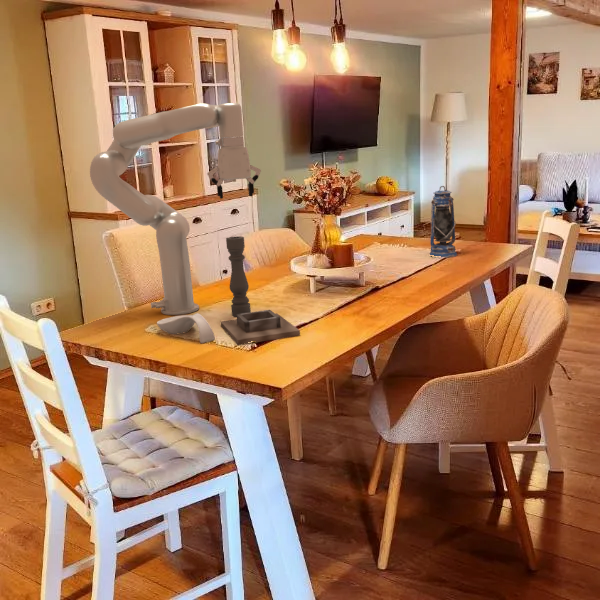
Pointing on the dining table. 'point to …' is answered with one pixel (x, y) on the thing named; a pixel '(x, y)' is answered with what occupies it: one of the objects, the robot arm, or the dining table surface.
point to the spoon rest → (187, 326)
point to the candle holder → (238, 276)
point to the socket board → (259, 327)
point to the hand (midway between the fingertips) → (236, 197)
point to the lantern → (442, 225)
